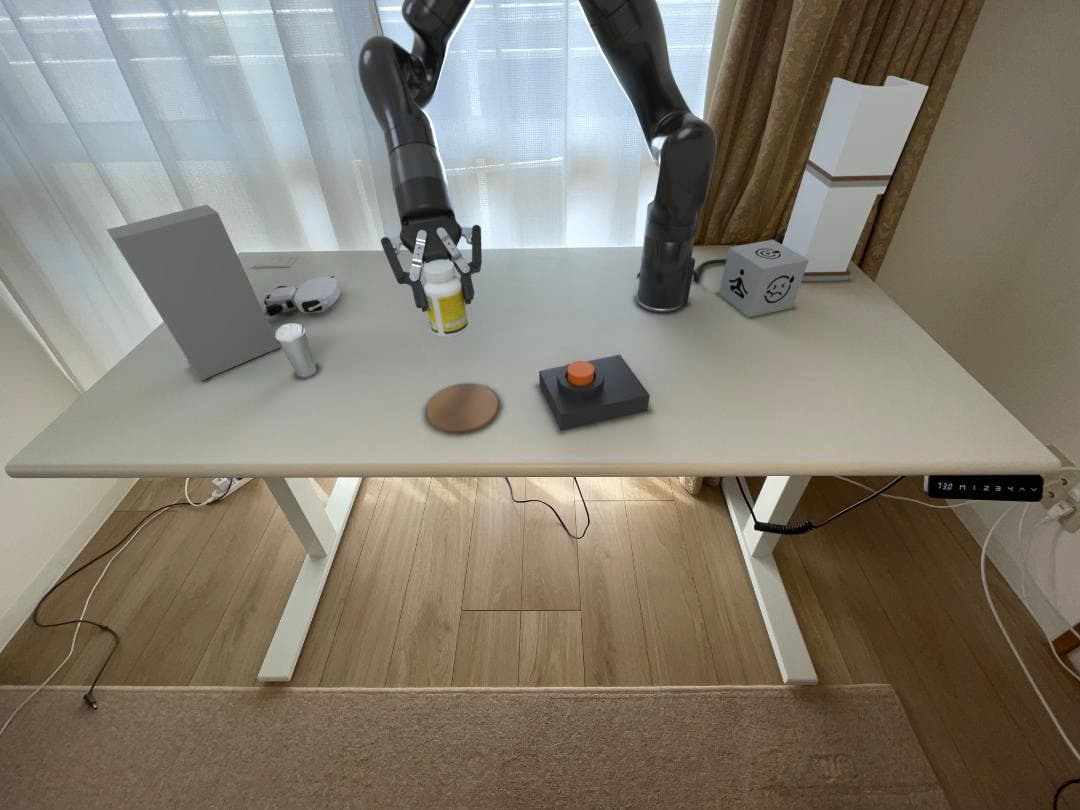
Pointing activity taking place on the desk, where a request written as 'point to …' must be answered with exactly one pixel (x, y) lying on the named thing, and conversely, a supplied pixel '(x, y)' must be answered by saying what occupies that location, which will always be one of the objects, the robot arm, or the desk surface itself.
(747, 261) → the icon cube
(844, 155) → the white striped pillar
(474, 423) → the coaster
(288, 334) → the milkshake
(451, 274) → the supplement bottle
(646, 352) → the desk surface
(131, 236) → the tall grey upright panel
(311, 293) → the robot toy
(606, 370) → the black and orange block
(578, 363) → the orange button
